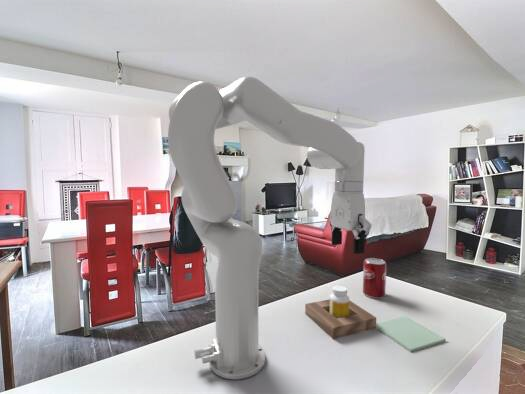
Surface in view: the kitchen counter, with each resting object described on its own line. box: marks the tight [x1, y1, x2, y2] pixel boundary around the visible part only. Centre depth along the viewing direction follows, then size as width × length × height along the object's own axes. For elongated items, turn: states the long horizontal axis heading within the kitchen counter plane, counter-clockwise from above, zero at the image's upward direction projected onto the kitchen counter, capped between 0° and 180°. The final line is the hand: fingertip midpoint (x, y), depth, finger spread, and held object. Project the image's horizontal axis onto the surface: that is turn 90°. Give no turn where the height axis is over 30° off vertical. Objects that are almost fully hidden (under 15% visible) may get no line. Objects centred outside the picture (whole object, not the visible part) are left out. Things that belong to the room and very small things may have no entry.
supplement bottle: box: [329, 285, 350, 319], centre depth 81 cm, size 5×5×10 cm
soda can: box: [362, 257, 387, 299], centre depth 98 cm, size 7×7×12 cm
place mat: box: [375, 316, 446, 353], centre depth 74 cm, size 12×12×1 cm
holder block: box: [304, 298, 377, 340], centre depth 81 cm, size 14×14×3 cm
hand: (347, 248), depth 79 cm, fingers open, 9 cm apart
